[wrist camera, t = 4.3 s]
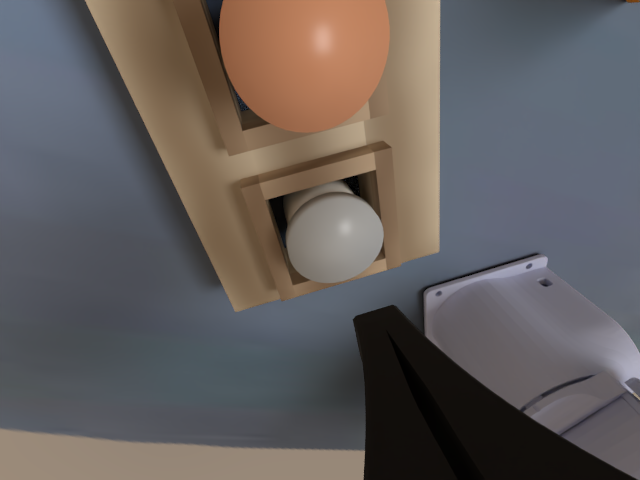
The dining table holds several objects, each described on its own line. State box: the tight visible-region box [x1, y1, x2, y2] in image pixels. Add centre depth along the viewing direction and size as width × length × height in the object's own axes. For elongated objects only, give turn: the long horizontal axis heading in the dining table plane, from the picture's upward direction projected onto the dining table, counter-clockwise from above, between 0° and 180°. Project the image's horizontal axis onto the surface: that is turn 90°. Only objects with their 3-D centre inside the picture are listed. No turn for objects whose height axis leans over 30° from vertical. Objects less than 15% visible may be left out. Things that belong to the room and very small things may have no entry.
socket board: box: [85, 0, 440, 312], centre depth 15 cm, size 12×16×4 cm
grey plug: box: [283, 179, 384, 283], centre depth 17 cm, size 4×4×4 cm
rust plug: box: [219, 0, 390, 133], centre depth 11 cm, size 4×4×4 cm
